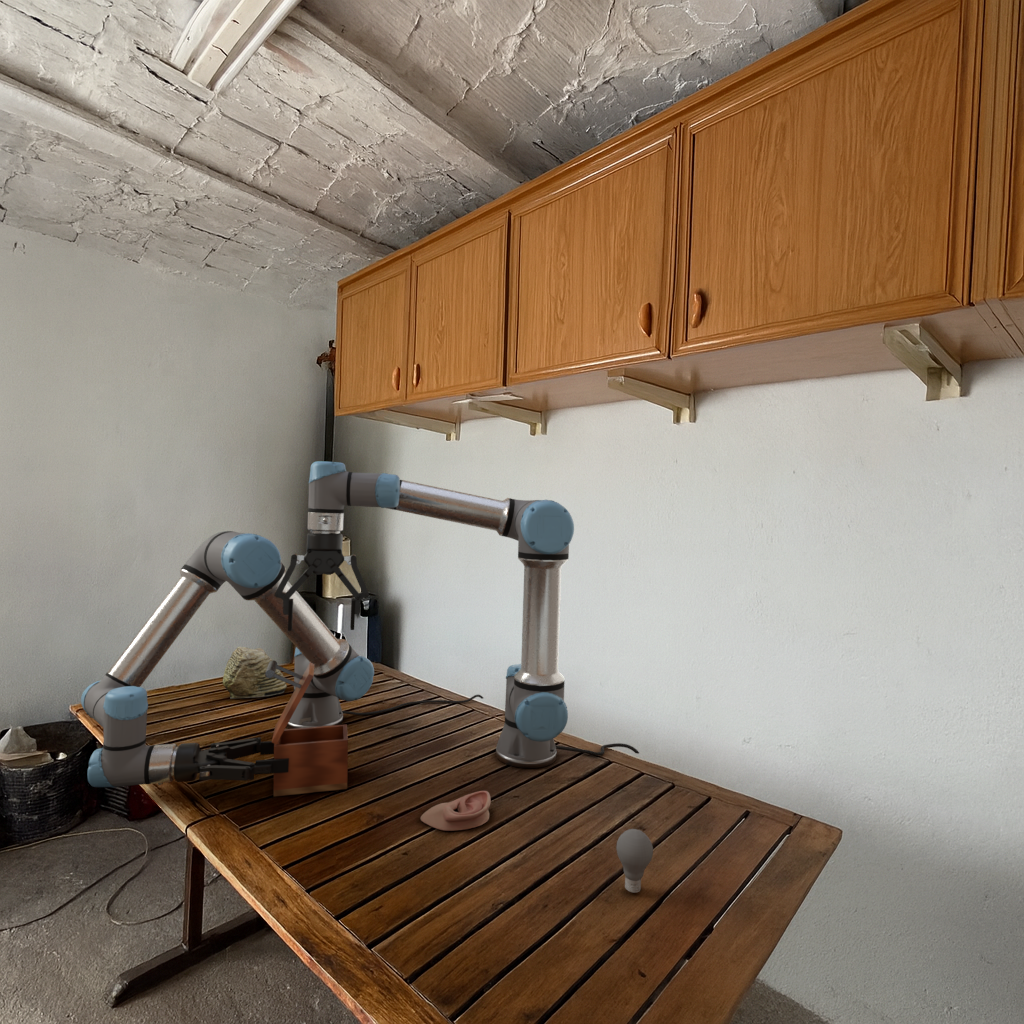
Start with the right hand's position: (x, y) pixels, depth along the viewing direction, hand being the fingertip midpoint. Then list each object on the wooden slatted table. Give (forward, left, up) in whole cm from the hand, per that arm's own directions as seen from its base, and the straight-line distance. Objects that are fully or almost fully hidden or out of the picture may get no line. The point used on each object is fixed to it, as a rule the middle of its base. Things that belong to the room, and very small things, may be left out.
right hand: (321, 629), depth 139 cm
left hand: (+6, 0, -28) cm, 28 cm away
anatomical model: (-25, +24, -34) cm, 49 cm away
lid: (+5, 0, -16) cm, 17 cm away
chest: (+1, 0, -34) cm, 34 cm away
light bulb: (-45, +56, -34) cm, 80 cm away
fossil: (+12, -68, -34) cm, 77 cm away
